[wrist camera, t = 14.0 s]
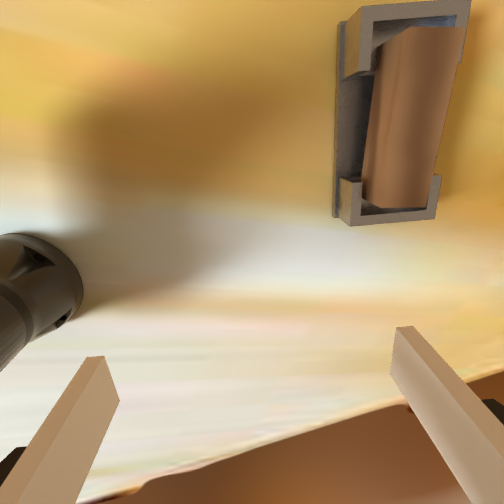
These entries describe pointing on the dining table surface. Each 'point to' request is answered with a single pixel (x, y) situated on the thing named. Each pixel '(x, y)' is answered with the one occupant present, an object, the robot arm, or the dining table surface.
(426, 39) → the brown wooden block
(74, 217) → the dining table surface
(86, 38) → the dining table surface
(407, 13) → the bracket
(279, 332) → the dining table surface
